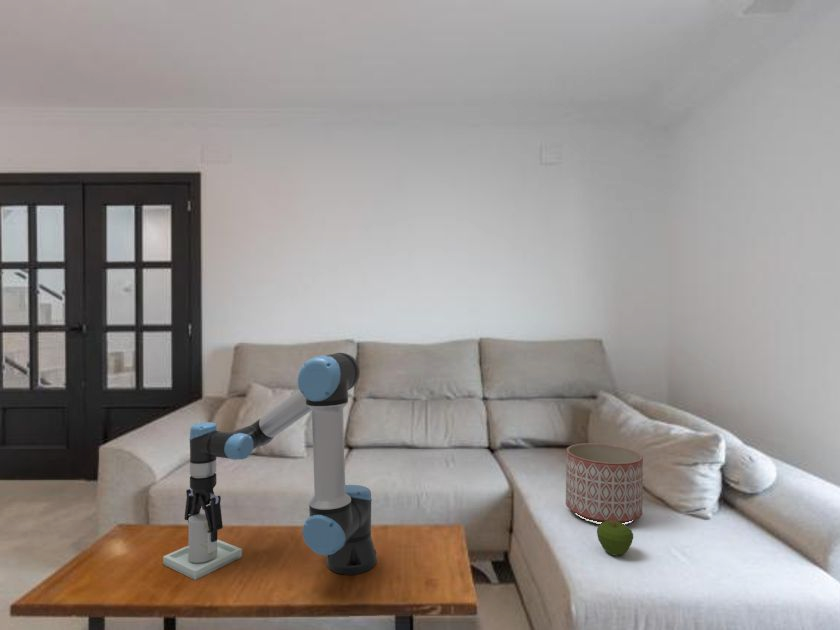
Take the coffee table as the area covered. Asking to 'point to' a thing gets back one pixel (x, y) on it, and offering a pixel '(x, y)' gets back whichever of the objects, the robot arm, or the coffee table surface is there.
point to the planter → (604, 482)
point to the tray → (198, 570)
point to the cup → (198, 539)
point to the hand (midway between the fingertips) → (203, 547)
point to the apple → (614, 537)
